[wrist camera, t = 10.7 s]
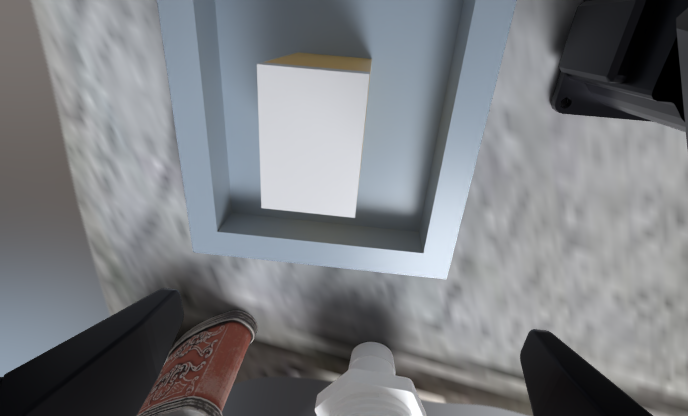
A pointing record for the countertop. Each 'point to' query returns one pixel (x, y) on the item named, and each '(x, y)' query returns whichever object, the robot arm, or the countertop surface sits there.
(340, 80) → the yellow and white block
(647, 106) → the robot arm
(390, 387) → the pipe fitting
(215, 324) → the lighter
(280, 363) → the countertop surface
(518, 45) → the countertop surface
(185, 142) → the parts tray
